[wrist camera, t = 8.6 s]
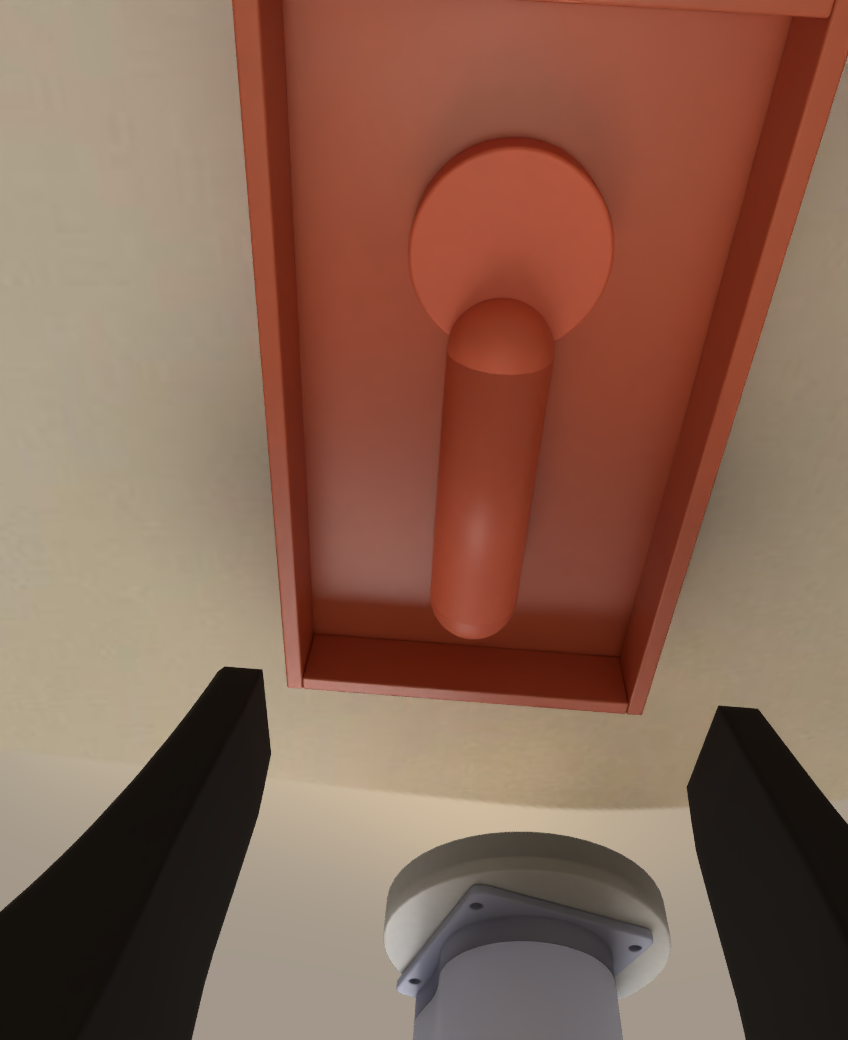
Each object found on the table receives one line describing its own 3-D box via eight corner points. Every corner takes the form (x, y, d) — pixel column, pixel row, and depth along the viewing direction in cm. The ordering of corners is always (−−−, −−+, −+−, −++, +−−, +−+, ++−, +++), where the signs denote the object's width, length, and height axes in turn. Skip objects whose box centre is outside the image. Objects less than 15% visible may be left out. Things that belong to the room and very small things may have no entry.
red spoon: (542, 605, 19) (547, 663, 18) (398, 594, 19) (390, 651, 18) (626, 142, 13) (645, 166, 12) (415, 129, 13) (406, 151, 12)
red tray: (629, 655, 21) (642, 716, 19) (302, 629, 21) (286, 687, 19) (816, -17, 12) (870, -15, 10) (262, -48, 12) (226, -51, 11)
